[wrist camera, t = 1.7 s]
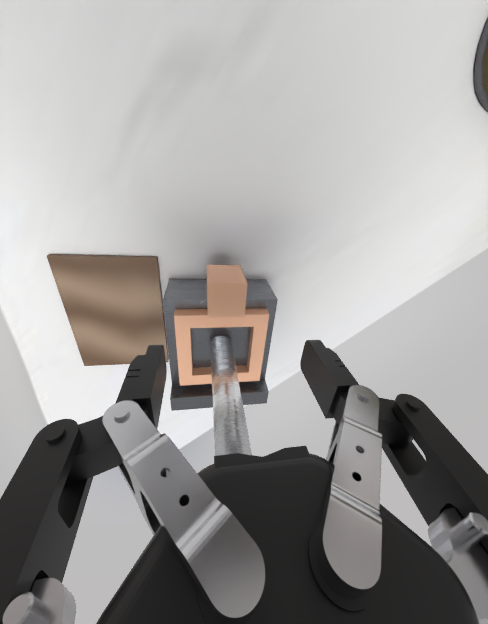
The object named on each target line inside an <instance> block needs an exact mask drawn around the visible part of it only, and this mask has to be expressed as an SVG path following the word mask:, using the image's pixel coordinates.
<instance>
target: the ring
mask: <svg viewBox="0 0 488 624" xmlns="http://www.w3.org/2000/svg"><path fill="white" fill-rule="evenodd" d="M247 284H248V283H247V281H246V278H245V276H244V273H243V271H242V268H241V266H240V265H207V309H175V313H174V323H175V335H176V347H177V358H178V370H179V382H180V386H183V385H199V384H212V378H211V367H200V368H193V363H192V341H191V328H219V327H251V333H250V342H249V351H248V361H247V365H239V366H236V368H237V374H238V380H239V382H247V381H260V374H261V368H262V361H263V354H264V347H265V341H266V334H267V327H268V320H269V313H268V310H267V308H249V309H245V307H246V295H247Z"/></svg>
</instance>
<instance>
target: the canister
mask: <svg viewBox="0 0 488 624" xmlns="http://www.w3.org/2000/svg"><path fill="white" fill-rule="evenodd" d="M474 85H475V91H476V94H477V96H478V99H479V101H480V103H481V104H482V105H483V107H484V108H485V109H486V110H487V111H488V20H487V22H486V25H485V28H484V31H483V33H482V36H481V39H480V42H479V45H478V50H477V55H476V61H475V72H474Z"/></svg>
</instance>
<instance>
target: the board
mask: <svg viewBox="0 0 488 624" xmlns="http://www.w3.org/2000/svg"><path fill="white" fill-rule="evenodd" d="M47 258H48V261H49V264H50V267H51V270H52V273H53V276H54V279H55V282H56V284H57V287H58V290H59V293H60V296H61V299H62V302H63V305H64V308H65V311H66V314H67V316H68V319H69V322H70V325H71V328H72V331H73V334H74V337H75V340H76V343H77V345H78V348H79V351H80V354H81V357H82V360H83V363H84V366H94V365H115V364H130V363H131V362H132V361H133V359H134V358H135V357H136V356H137V355H145V354H146V351H147V348H148V345H164V350H165V359H166V362H168V350H167V341H166V331H165V322H164V313H163V304H162V295H161V286H160V277H159V267H158V258H157V257H154V256H112V255H71V254H49V255H47Z"/></svg>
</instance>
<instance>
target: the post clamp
mask: <svg viewBox="0 0 488 624" xmlns="http://www.w3.org/2000/svg"><path fill="white" fill-rule="evenodd" d="M246 281H247V283H248V284H247V295H246V307H245V309H249V308H267V310H268V313H269V320H268V327H267V334H266V341H265V347H264V354H263V361H262V368H261V374H260V381H247V382H239V380H238V374H237V368H236V366H239V365H247V361H248V351H249V342H250V333H251V327H219V328H191V341H192V363H193V368H200V367H211V378H212V384H199V385H183V386H180V382H179V370H178V358H177V347H176V335H175V323H174V313H175V309H207V279H169V281H168V285H167V289H166V292H165V296H164V299H163V303H164V312H165V322H166V331H167V340H168V350H169V359H170V369H171V378H172V390H171V397H170V400H171V409H172V410H185V409H197V408H210V407H213V419H214V438H215V456H217V455H227V454H236V453H240V454H246V455H252V454H251V448H250V442H249V436H248V431H247V425H246V419H245V414H244V408H243V405H248V404H261V403H267V397H268V388H267V385H266V382H265V373H266V367H267V361H268V355H269V349H270V342H271V336H272V330H273V324H274V318H275V311H276V305H277V298H276V296H275V294H274V293H273V291H272V289H271V288H270V286H269V284H268V282H267V281H266V280H246Z"/></svg>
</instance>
